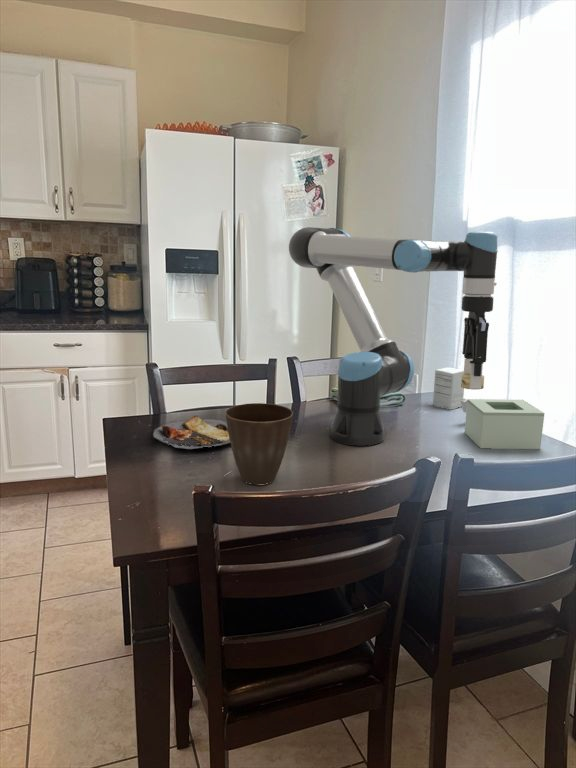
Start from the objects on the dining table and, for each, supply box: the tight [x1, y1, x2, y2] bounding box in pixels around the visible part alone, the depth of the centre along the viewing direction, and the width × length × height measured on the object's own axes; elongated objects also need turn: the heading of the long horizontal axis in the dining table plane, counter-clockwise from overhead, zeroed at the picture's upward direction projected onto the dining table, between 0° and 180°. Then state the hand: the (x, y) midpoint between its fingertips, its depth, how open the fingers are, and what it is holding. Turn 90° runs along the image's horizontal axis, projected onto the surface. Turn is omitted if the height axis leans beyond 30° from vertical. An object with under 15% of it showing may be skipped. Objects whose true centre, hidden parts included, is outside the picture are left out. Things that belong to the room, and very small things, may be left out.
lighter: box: [460, 398, 468, 414], centre depth 174 cm, size 7×2×8 cm, turn 118°
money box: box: [464, 398, 545, 450], centre depth 159 cm, size 16×14×10 cm
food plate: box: [152, 415, 231, 450], centre depth 158 cm, size 25×23×4 cm
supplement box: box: [432, 366, 465, 411], centre depth 193 cm, size 7×7×13 cm
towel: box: [329, 386, 407, 409], centre depth 199 cm, size 18×21×5 cm
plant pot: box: [224, 402, 294, 484], centre depth 128 cm, size 15×15×16 cm
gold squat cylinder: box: [461, 374, 485, 390], centre depth 149 cm, size 6×6×3 cm
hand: (471, 385), depth 149 cm, fingers closed on gold squat cylinder, 5 cm apart
